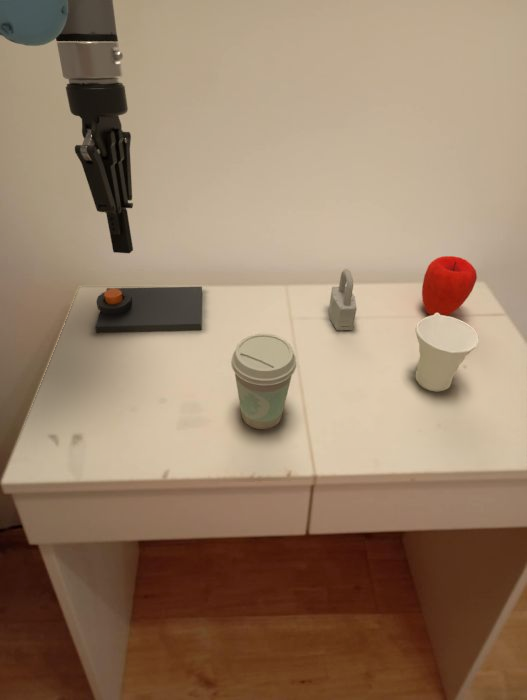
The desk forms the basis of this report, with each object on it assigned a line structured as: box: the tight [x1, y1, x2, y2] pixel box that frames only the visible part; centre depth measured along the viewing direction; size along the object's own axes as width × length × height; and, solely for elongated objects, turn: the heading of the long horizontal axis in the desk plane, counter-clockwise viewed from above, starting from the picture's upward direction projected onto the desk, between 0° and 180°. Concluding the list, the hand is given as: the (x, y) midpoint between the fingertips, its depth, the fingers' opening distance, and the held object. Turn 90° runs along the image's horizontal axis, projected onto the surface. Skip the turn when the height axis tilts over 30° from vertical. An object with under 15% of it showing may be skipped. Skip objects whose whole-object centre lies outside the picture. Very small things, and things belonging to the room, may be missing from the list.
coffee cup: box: [230, 333, 297, 430], centre depth 64 cm, size 8×9×12 cm
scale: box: [95, 286, 203, 334], centre depth 86 cm, size 18×12×3 cm, turn 95°
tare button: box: [104, 289, 123, 304], centre depth 84 cm, size 3×3×2 cm
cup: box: [415, 313, 480, 393], centre depth 72 cm, size 9×9×10 cm
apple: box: [421, 255, 478, 317], centre depth 86 cm, size 9×9×11 cm
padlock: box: [328, 268, 357, 331], centre depth 83 cm, size 7×4×10 cm, turn 5°
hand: (123, 251), depth 75 cm, fingers closed
